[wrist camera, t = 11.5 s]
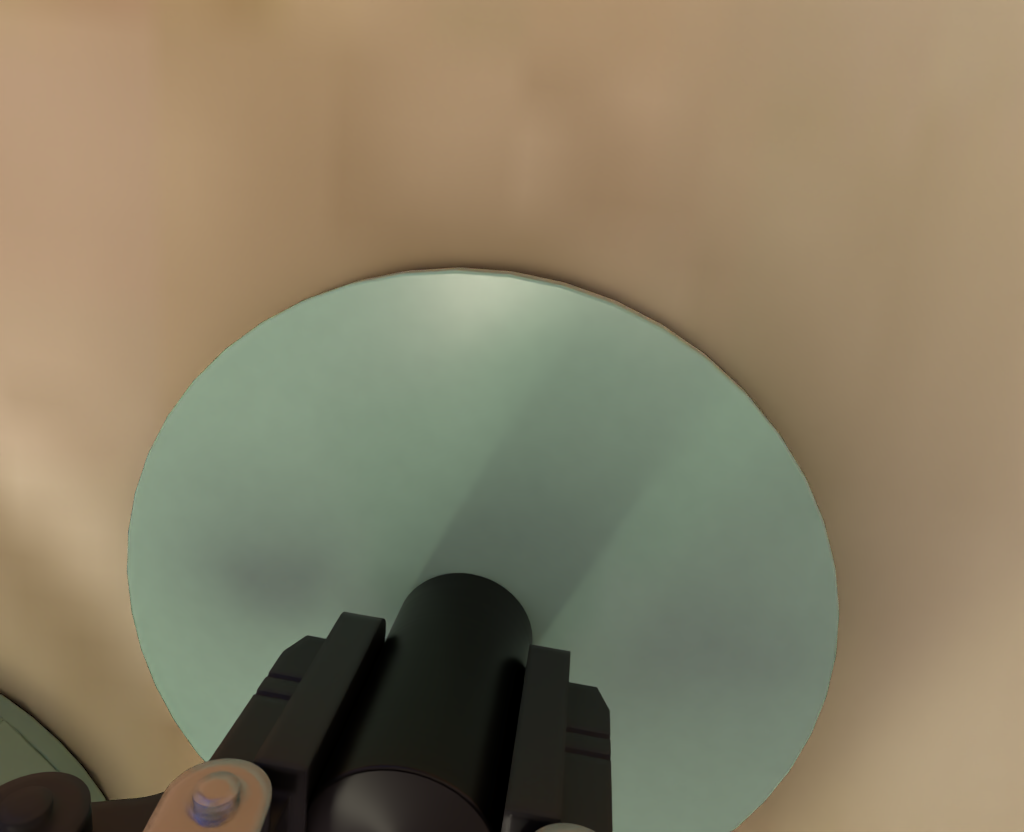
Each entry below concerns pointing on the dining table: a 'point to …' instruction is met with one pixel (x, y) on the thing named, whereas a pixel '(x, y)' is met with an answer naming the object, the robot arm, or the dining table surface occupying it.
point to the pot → (34, 749)
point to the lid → (489, 547)
